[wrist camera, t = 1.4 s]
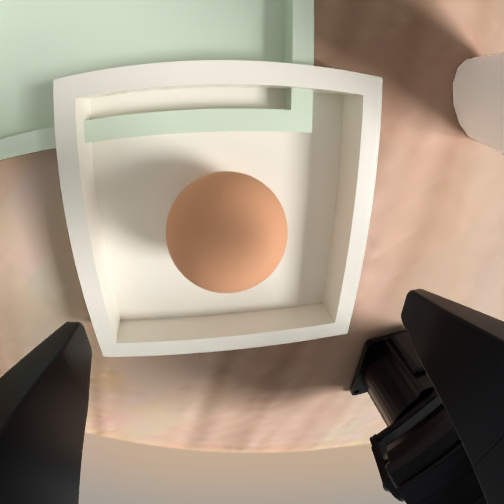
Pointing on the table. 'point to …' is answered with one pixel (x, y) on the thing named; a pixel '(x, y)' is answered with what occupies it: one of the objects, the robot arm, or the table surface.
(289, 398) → the table surface
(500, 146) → the foam cup
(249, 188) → the ball
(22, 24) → the tray
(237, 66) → the white square open box
